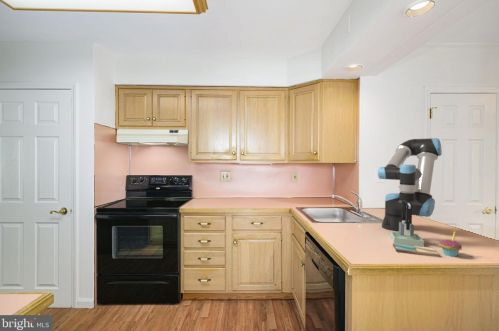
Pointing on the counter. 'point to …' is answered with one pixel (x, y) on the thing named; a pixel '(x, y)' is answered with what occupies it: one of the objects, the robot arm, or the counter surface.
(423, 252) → the board
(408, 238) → the tray
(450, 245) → the cupcake
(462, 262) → the counter surface
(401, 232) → the die
